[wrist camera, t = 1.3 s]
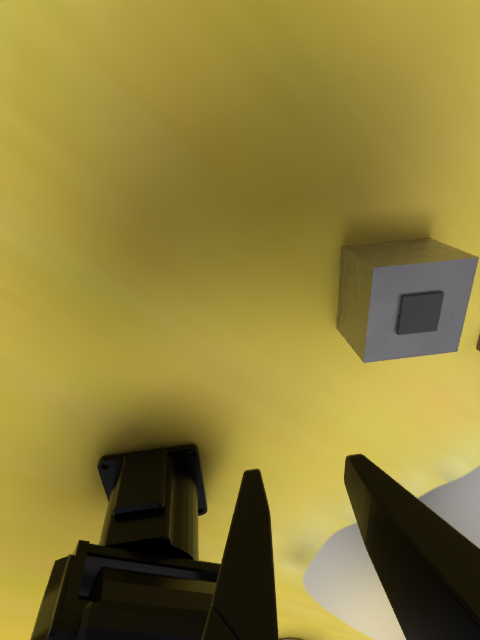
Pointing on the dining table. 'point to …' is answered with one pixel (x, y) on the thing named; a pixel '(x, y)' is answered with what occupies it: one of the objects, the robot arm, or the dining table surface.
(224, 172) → the dining table surface
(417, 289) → the socket
